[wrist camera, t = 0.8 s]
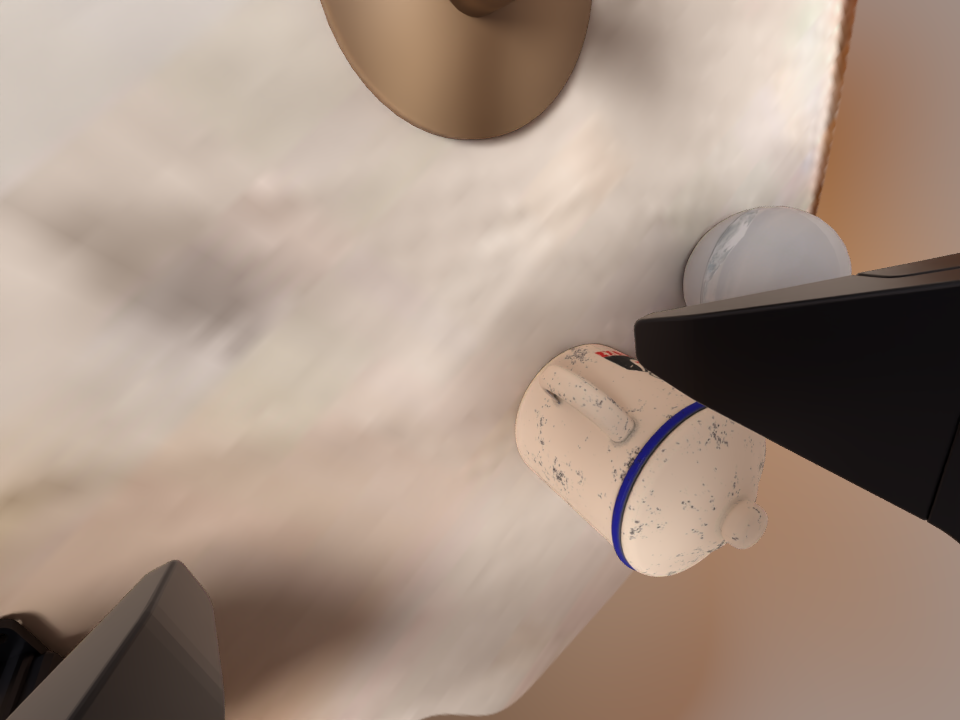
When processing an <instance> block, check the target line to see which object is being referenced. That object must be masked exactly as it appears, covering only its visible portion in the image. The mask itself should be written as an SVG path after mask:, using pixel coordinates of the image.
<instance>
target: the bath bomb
mask: <svg viewBox="0 0 960 720" xmlns="http://www.w3.org/2000/svg"><path fill="white" fill-rule="evenodd" d="M849 275H851V262H850V258H849V255H848V252H847V249H846V246H845V244H844V243H843V241H842V240H841V239H840V237H839V236H838V234H837V233H836V232H835V230H834V229H832V228H831V227H830V226H829V225H828V224H826V223H825V222H824V221H822V220H821V219H820V218H819V217H816V216H814V215H812V214H810V213H807V212H805V211H802V210H799V209H795V208H790V207H784V206H776V207H758V208H753V209H749V210H745V211H742V212H739V213H737V214H735V215H733V216H731V217H728V218H726V219H725V220H723V221H721V222H720V223H718V224H717V225H716V226H715V227H713V228H712V229H711V230H710V231H709V232H707V233H706V234H705V235H704V236H703V237H702V239H701V240H700V241H699V242H698V244H697V245H696V247H695V248H694V250H693V252H692V253H691V255H690V257H689V260H688V262H687V265H686V268H685V273H684V280H683V293H684V299H685V302H686V305H687V306H692V305H697V304H703V303H708V302H713V301H718V300H724V299H729V298H734V297H739V296H745V295H750V294H755V293H760V292H766V291H771V290H776V289H781V288H787V287H792V286H797V285H802V284H807V283H813V282H818V281H823V280H828V279H834V278H839V277H844V276H849Z"/></svg>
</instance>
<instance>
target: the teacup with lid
mask: <svg viewBox="0 0 960 720" xmlns="http://www.w3.org/2000/svg"><path fill="white" fill-rule="evenodd" d="M515 436H516V443H517V448H518V451H519V453H520V455H521V457H522V459H523V461H524V462H525V463H526V465H527V466H528V467H529V468H530V469H531V470H532V471H533V472H534V473H535V474H537V475H538V476H539V477H540V478H541V479H542V480H543V481H544V482H545V483H546V484H547V485H548V486H549V487H550V488H552V489H553V490H554V491H555V492H556V493H557V494H558V495H559V496H560V497H561V498H562V499H563V500H564V501H565V502H567V503H568V504H569V505H570V506H571V507H572V508H573V509H574V510H575V511H576V512H577V513H578V514H579V515H580V516H581V517H583V518H584V519H585V520H586V521H587V522H588V523H589V524H590V525H591V526H592V527H593V528H594V529H595V530H596V531H598V532H599V533H600V534H601V535H602V536H603V537H604V538H605V539H606V540H607V541H608V542H609V543H610V544H611V545H613V546H614V549H615V551H616V554H617V555H618V557H619V559H620V560H621V561H622V562H623V563H624V564H625V565H626V566H628V567H629V568H631V569H633V570H636V571H638V572H640V573H642V574H645V575H649V576H656V577H663V576H670V575H674V574H677V573H680V572H682V571H684V570H686V569H688V568H690V567H692V566H694V565H695V564H697V563H698V562H699V561H701V560H702V559H704V558H705V557H706V556H707V555H709V554H710V553H711V552H713V551H715V550H717V549H719V548H721V547H722V546H724V545H725V544H726V543H729V544H730V545H732V546H733V547H735V548H737V549H747V548H750V547H751V546H753V545H754V544H755V543H757V542H758V540H759V539H760V538H761V537H762V535H763V533H764V532H765V530H766V527H767V523H768V516H767V514H766V512H765V510H764V509H763V508H762V507H761V506H759V505H758V504H756V503H755V502H756V498H757V491H758V483H759V480H760V477H761V474H762V471H763V466H764V461H765V453H766V442H765V437H763V436H761V435H759V434H757V433H755V432H754V431H752V430H750V429H748V428H746V427H744V426H742V425H740V424H738V423H736V422H734V421H732V420H730V419H729V418H727V417H725V416H723V415H721V414H719V413H717V412H715V411H713V410H711V409H709V408H707V407H706V406H704V405H702V404H700V403H698V402H696V401H695V400H693V399H691V398H690V397H688V396H686V395H685V394H683V393H682V392H680V391H679V390H677V389H676V388H674V387H673V386H671V385H669V384H668V383H666V382H665V381H663V380H662V379H660V378H659V377H657V376H656V375H654V374H653V373H651V372H649V371H648V370H646V369H645V368H644V367H642V366H641V364H640V363H639V362H638V360H637V359H634V358H632V357H630V356H628V355H626V354H623V353H621V352H619V351H617V350H615V349H612V348H610V347H607V346H604V345H599V344H587V345H581V346H577V347H574V348H571V349H569V350H567V351H565V352H563V353H561V354H560V355H558V356H557V357H555V358H554V359H552V360H551V361H550V362H549V363H548V364H546V365H545V366H544V367H543V368H542V369H541V370H540V372H539V373H538V374H537V375H536V376H535V378H534V379H533V380H532V382H531V383H530V385H529V387H528V388H527V390H526V392H525V394H524V396H523V398H522V401H521V403H520V406H519V410H518V413H517V418H516V426H515Z"/></svg>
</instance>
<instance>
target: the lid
mask: <svg viewBox="0 0 960 720" xmlns="http://www.w3.org/2000/svg"><path fill="white" fill-rule="evenodd" d="M320 1H321V4H322V7H323V10H324V12H325V15H326V18H327V21H328V24H329V26H330V28H331V30H332V32H333V34H334V36H335V39H336V41H337V43H338V45H339V47H340V49H341V50H342V52H343V54H344V55H345V57H346V59H347V60H348V62H349V64H350V65H351V67H352V68H353V70H354V71H355V72H356V74H357V75H358V76H359V78H360V79H361V80H362V82H363V83H364V84H365V86H366V87H367V88H368V89H369V90H370V91H371V92H372V93H373V94H374V95H375V96H376V97H377V98H378V99H379V100H380V102H382V103H383V104H384V105H385V106H386V107H388V108H389V109H390V110H391V111H392V112H394V113H395V114H396V115H397V116H399V117H400V118H402V119H404V120H405V121H407V122H408V123H410V124H411V125H413V126H415V127H417V128H420V129H422V130H424V131H426V132H428V133H431V134H435V135H438V136H442V137H445V138H453V139H460V140H463V139H485V138H491V137H496V136H501V135H504V134H507V133H509V132H512V131H515V130H517V129H519V128H521V127H522V126H524V125H526V124H528V123H529V122H531V121H532V120H533V119H535V118H536V117H537V116H538V115H540V114H541V113H542V112H543V111H544V110H545V109H546V108H547V107H548V106H549V105H550V104H551V103H552V102H553V100H554V99H555V98H556V96H557V95H558V94H559V92H560V91H561V90H562V88H563V87H564V85H565V83H566V82H567V80H568V78H569V77H570V75H571V73H572V71H573V69H574V66H575V64H576V62H577V60H578V57H579V55H580V52H581V49H582V45H583V42H584V39H585V36H586V31H587V27H588V22H589V17H590V10H591V3H592V0H320Z"/></svg>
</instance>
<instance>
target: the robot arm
mask: <svg viewBox="0 0 960 720" xmlns="http://www.w3.org/2000/svg"><path fill="white" fill-rule="evenodd" d="M634 337H635V350H636V357H637V360H638V362H639V363H640V364H641V366H642V367H644V368H645V369H646V370H648V371H649V372H651V373H653V374H654V375H656V376H657V377H659V378H660V379H662V380H663V381H665V382H666V383H668V384H669V385H671V386H673V387H674V388H676V389H677V390H679V391H680V392H682V393H683V394H685V395H686V396H688V397H690V398H691V399H693V400H695V401H696V402H698V403H700V404H702V405H704V406H706V407H707V408H709V409H711V410H713V411H715V412H717V413H719V414H721V415H723V416H725V417H727V418H729V419H730V420H732V421H734V422H736V423H738V424H740V425H742V426H744V427H746V428H748V429H750V430H752V431H754V432H755V433H757V434H759V435H761V436H763V437H765V438H767V439H769V440H771V441H773V442H775V443H777V444H778V445H780V446H782V447H784V448H786V449H788V450H790V451H792V452H794V453H796V454H798V455H800V456H801V457H803V458H805V459H807V460H809V461H811V462H813V463H815V464H817V465H819V466H821V467H823V468H824V469H826V470H828V471H830V472H832V473H834V474H836V475H838V476H840V477H842V478H844V479H846V480H848V481H849V482H851V483H854V484H855V485H857V486H859V487H861V488H863V489H865V490H867V491H869V492H871V493H873V494H875V495H876V496H878V497H880V498H883V499H884V500H886V501H888V502H890V503H892V504H894V505H895V506H897V507H899V508H901V509H903V510H905V511H907V512H909V513H911V514H913V515H915V516H917V517H919V518H920V519H922V520H927V522H928V523H930V524H932V525H933V526H935V527H937V528H939V529H941V530H942V531H944V532H945V533H946V534H948V535H949V536H951V537H952V538H953V539H954V540H956V541H957V542H958V543H959V544H960V253H957V254H952V255H947V256H943V257H937V258H933V259H928V260H923V261H918V262H913V263H908V264H903V265H898V266H893V267H887V268H882V269H877V270H872V271H867V272H862V273H858V274H857V275H849V276H844V277H839V278H834V279H828V280H823V281H818V282H813V283H807V284H802V285H797V286H792V287H787V288H781V289H776V290H771V291H766V292H760V293H755V294H750V295H745V296H739V297H734V298H729V299H724V300H718V301H713V302H708V303H703V304H697V305H692V306H687V307H682V308H677V309H671V310H666V311H661V312H656V313H651V314H648V315H646V316H645V317H643V318H641V319H639V320H637V321H636V323H635V325H634ZM0 633H4V634H6V635H3V636H0V720H225V700H224V685H223V676H222V668H221V661H220V654H219V646H218V639H217V631H216V624H215V616H214V610H213V605H212V602H211V600H210V597H209V596H208V594H207V592H206V591H205V590H204V588H203V587H202V586H201V585H200V583H199V582H198V581H197V580H196V578H195V577H194V576H193V575H192V573H191V572H190V571H189V570H188V568H187V567H186V566H185V565H184V564H183V563H182V562H181V561H179V560H172V561H170V562H168V563H166V564H164V565H162V566H160V567H158V568H156V569H154V570H152V571H151V572H149V573H148V574H146V575H145V576H144V577H143V578H142V579H141V580H140V581H139V582H138V583H137V584H136V585H135V586H134V588H133V589H132V590H131V591H130V592H129V593H128V594H127V595H126V596H125V597H124V598H123V599H122V600H121V601H120V602H119V603H118V604H117V605H116V606H115V607H114V608H113V609H112V610H111V611H110V612H109V613H108V614H107V615H106V616H105V618H104V619H103V620H102V621H101V622H100V623H99V624H98V625H97V626H96V627H95V628H94V629H93V630H92V631H91V632H90V633H89V634H88V635H87V636H86V637H85V638H84V639H83V640H82V641H81V642H80V643H79V644H78V645H77V647H76V648H75V649H74V650H73V651H72V652H71V653H70V654H69V655H68V656H67V657H66V658H65V659H62V658H61V657H60V656H59V655H58V654H57V653H55V652H52V651H50V650H49V649H47V648H46V647H45V646H44V645H43V644H42V643H41V642H40V641H38V640H37V639H36V638H35V637H34V636H33V635H32V634H31V633H29V632H28V631H27V630H26V629H25V628H24V627H23V626H22V625H21V624H19V623H18V622H16V621H15V620H10V619H4V620H0Z"/></svg>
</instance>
